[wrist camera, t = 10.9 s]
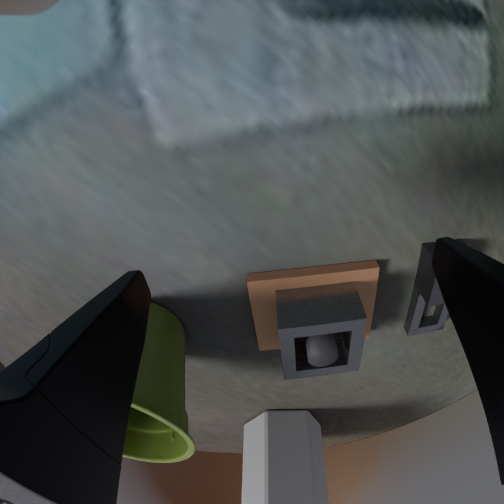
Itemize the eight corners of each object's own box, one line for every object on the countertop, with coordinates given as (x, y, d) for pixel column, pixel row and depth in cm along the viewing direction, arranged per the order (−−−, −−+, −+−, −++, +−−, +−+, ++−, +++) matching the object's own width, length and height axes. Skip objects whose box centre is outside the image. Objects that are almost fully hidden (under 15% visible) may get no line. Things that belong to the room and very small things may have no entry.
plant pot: (232, 309, 26) (221, 433, 17) (186, 377, 32) (170, 471, 23) (99, 253, 23) (34, 362, 14) (84, 336, 29) (46, 425, 20)
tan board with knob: (375, 259, 23) (399, 308, 19) (366, 330, 27) (380, 377, 23) (246, 273, 24) (244, 326, 19) (259, 342, 28) (259, 392, 24)
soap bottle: (243, 436, 40) (239, 573, 22) (244, 408, 35) (239, 578, 17) (313, 435, 40) (322, 569, 22) (327, 407, 36) (343, 570, 17)
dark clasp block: (461, 239, 22) (479, 259, 19) (438, 320, 27) (449, 342, 25) (422, 243, 22) (438, 265, 20) (404, 327, 27) (413, 350, 25)
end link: (354, 281, 23) (367, 318, 20) (349, 334, 26) (358, 369, 23) (275, 290, 24) (277, 329, 20) (281, 342, 27) (284, 379, 23)
